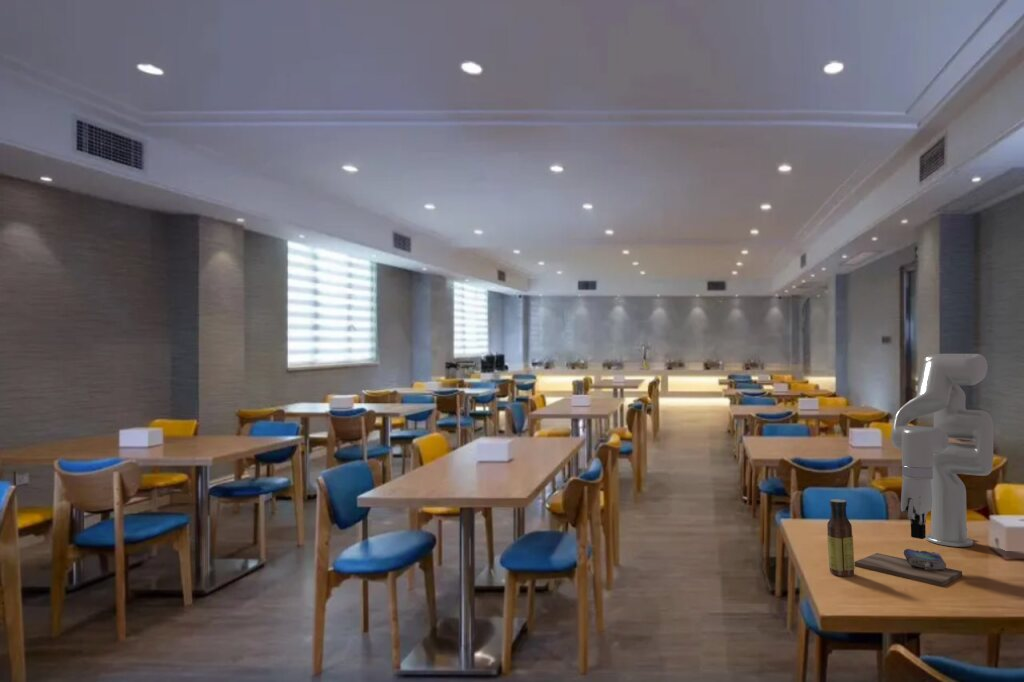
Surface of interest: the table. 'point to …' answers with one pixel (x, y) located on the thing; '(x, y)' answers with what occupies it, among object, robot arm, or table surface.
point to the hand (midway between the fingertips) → (918, 537)
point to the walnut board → (907, 569)
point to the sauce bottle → (840, 540)
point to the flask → (925, 559)
